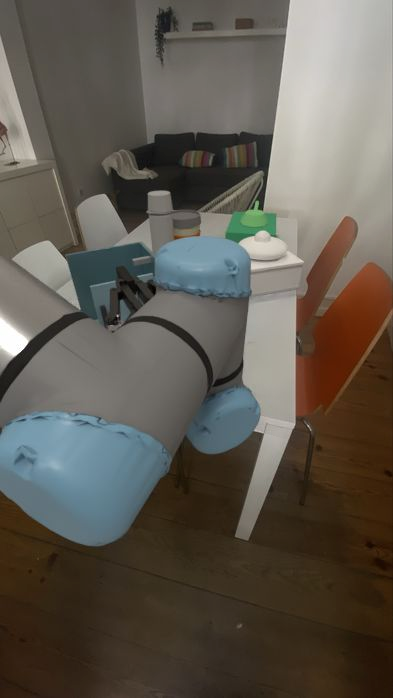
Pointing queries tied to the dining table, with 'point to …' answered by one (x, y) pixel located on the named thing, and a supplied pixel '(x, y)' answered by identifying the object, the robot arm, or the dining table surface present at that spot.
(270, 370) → the dining table surface
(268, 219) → the toy tank
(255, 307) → the dining table surface
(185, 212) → the reusable coffee cup
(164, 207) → the water bottle
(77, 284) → the shower
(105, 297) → the shower door
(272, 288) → the butter dish
